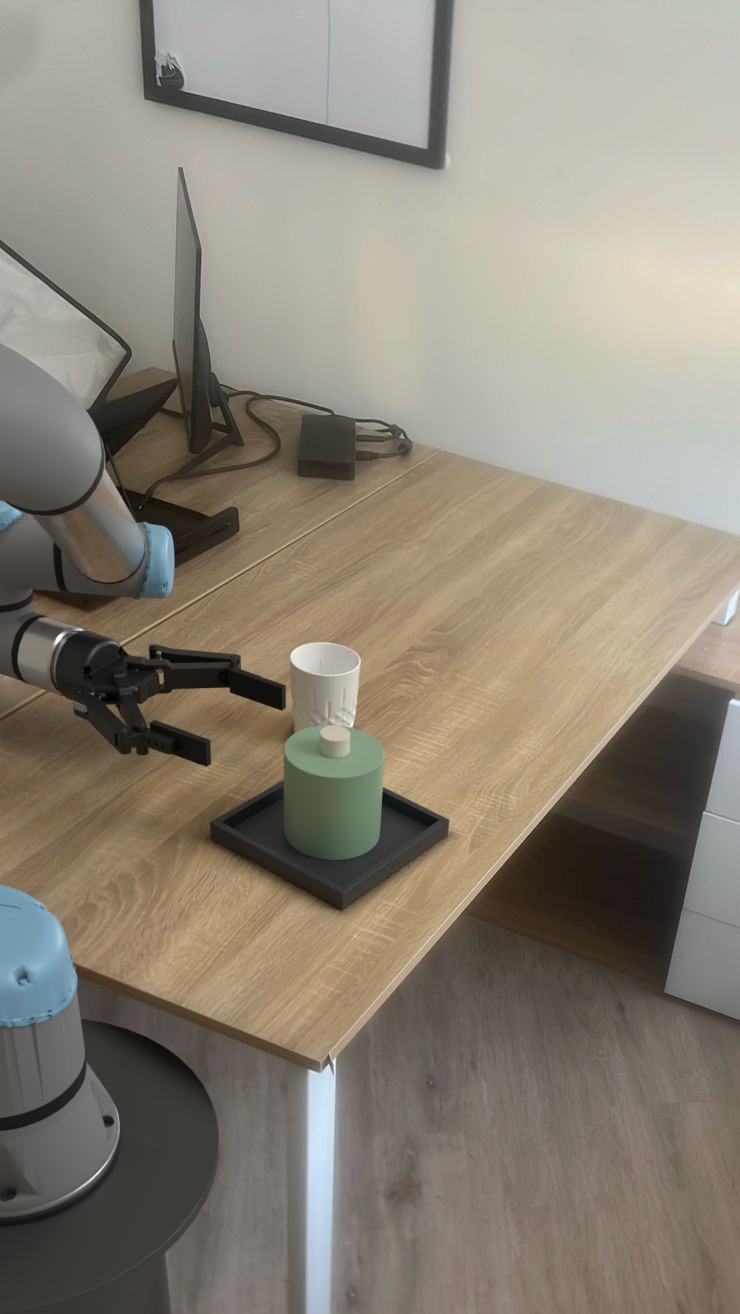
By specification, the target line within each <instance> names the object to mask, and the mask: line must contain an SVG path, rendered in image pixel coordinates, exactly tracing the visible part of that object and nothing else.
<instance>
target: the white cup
mask: <svg viewBox="0 0 740 1314" xmlns="http://www.w3.org/2000/svg"><path fill="white" fill-rule="evenodd" d="M361 662H362V659H361V657H360V655H359V654H358V653H357V652H356V651H355V650H353V649H351V648H349V647H348V646H345V645H341V644H339V643H333V642H324V641H323V642H319V641H318V642H310V643H304V644H301V645H299V646H296V648H294V649H293V650H292V651H291V652H290V655H289V668H290V669H289V670H290V692H291V695H290V696H291V704H292V706H291V707H292V715H293V729H294V731H293V734H295V733H296V732H298V731H300V730H303V729H306V728H309V727H314V726H321V725H339V726H346V727H351V728H354V724H355V723H354V722H355V719H356V716H357V715H356V713H357V706H358V696H359V686H360V684H359V683H360V673H361V665H362V663H361Z"/></svg>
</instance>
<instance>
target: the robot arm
mask: <svg viewBox="0 0 740 1314" xmlns="http://www.w3.org/2000/svg"><path fill="white" fill-rule="evenodd" d="M174 579H175V547H174V540H173V535H172V533H171V531H170V530H169V529H168V528H167V526H164V525H159V524H153V523H149V522H147V521H140V522H136V520H135V518H134V517H133V515H132V513H131V511H130V510H129V508H128V506H127V505H126V502H125V501H124V499H123V497H122V495H121V494H120V492H119V490H118V489H117V486H116V485H115V483H114V482H113V480H112V477H111V476H110V474H109V473H108V471H107V469H106V451H105V446H104V442H103V439H102V436H101V434H100V432H99V429H98V428H97V426H96V424H95V422H94V420H93V419H92V418H91V416H90V414H89V412H88V411H87V410H86V407H84V405H83V404H82V403H81V401H79V400H78V398H77V397H76V396H75V395H74V394H73V393H72V392H71V391H70V390H69V389H68V388H67V387H66V386H64V384H62V383H61V382H60V381H59V380H58V379H56V378H55V377H53V376H52V375H51V374H50V373H48V371H46V370H44V369H43V368H42V367H41V366H39V365H38V364H36V363H35V362H33V361H32V360H30V359H29V358H27V356H24V355H23V354H21V353H19V352H17V351H16V350H14V349H13V348H11V347H9V346H7V345H5V344H3V343H1V342H0V675H1V676H5V677H9V678H11V679H15V680H17V681H21V682H22V683H24V684H27V685H29V686H33V687H36V688H39V689H41V690H44V691H47V692H49V693H52V694H55V695H57V696H60V697H64V698H66V699H67V700H70V701H72V707H73V714H74V715H75V716H76V717H78V718H81V719H82V720H85V721H87V722H88V723H89V724H90V725H91V726H92V727H93V728H94V729H95V730H96V731H97V732H98V733H99V734H100V735H101V736H102V737H103V738H104V739H105V740H106V741H107V742H108V743H109V744H110V746H112V747H113V748H114V749H115V750H116V751H117V752H118V753H119V754H120V755H123V756H124V755H130V754H131V753H132V749H134V748H135V750H136V751H135V752H136V754H137V755H138V756H146V755H148V754H149V753H150V749H151V750H154V751H155V752H156V751H157V752H159V753H162V754H165V755H171V756H172V755H173V756H176V757H179V758H181V759H184V760H186V761H189V762H192V763H195V764H198V765H200V766H203V767H205V768H208V767H209V766H210V765H212V751H211V739H209V738H206V737H203V736H201V735H198V734H195V733H192V732H190V731H187V730H185V729H181V728H178V727H176V726H173V725H171V724H168V723H164V722H161V721H159V720H156V719H153V720H151V721H150V722H149V727H148V724H147V722H146V720H145V718H144V715H143V714H142V711H141V709H140V707H139V705H142V704H144V703H145V702H146V701H147V700H148V699H149V698H152V697H155V696H156V695H163V694H164V695H165V694H166V695H167V694H170V693H172V691H174V690H193V689H194V690H195V689H196V690H197V689H229V693H230V694H232V695H235V696H238V697H241V698H244V699H246V700H250V701H252V702H255V703H258V704H261V705H264V706H266V707H270V708H273V709H275V710H278V711H280V712H283V711H284V710H285V709H286V708H287V685H286V684H283V683H281V682H278V681H274V680H272V679H269V678H265V677H263V676H261V675H259V674H256V673H253V672H250V671H247V670H245V669H242V656H241V655H240V654H237V653H236V654H235V653H226V652H217V651H203V650H193V649H182V648H171V647H168V646H164V645H161V644H156V643H155V644H154V643H152V644H149V645H148V654H146V655H145V656H139V655H132V654H129V653H128V652H127V651H126V650H125V649H124V648H123V646H122V645H121V644H120V642H118V641H117V640H115V639H113V638H111V637H110V636H106V635H102V634H99V633H97V632H94V631H92V630H86V629H84V628H83V627H81V626H78V625H75V624H72V623H69V622H66V621H62V620H59V619H57V618H53V617H51V616H47V615H45V614H42V613H40V612H37V611H36V609H35V604H34V597H35V596H34V590H36V591H49V592H62V593H75V594H85V595H86V594H87V595H97V596H108V597H119V598H121V597H122V598H130V599H131V598H132V599H133V600H137V601H139V600H141V599H146V600H147V599H148V600H150V599H151V600H164V599H166V598H168V596H169V595H170V594H171V592H172V590H173V586H174ZM159 674H162V676H163V682H162V683H161V682H160V681H161V680H160V675H159ZM108 705H109V706H115V708H116V709H117V711H118V714H119V716H120V718H121V719H123V721H124V722H123V721H122V720H121V719H120V718H119V717H118V716H117V715H116V714H115V713H114V712H113V711H112V710H111V709H110V708H109V707H108ZM80 1010H81V1009H80V1004H79V996H78V974H77V968H76V965H75V964H74V958H73V956H72V954H71V952H70V947H69V943H68V937H67V935H66V932H65V930H64V927H63V925H62V923H61V922H60V920H59V919H58V917H57V916H56V915H55V914H54V913H52V912H51V911H49V910H48V909H47V907H46V905H45V904H44V903H42V902H41V901H39V900H38V899H37V898H35V897H33V896H31V895H30V894H28V893H26V892H25V891H21V890H19V889H17V888H15V887H11V886H7V885H6V884H5V885H4V884H0V1226H11V1225H19V1224H25V1223H31V1222H35V1221H38V1220H42V1219H45V1218H48V1217H51V1216H54V1215H56V1214H58V1213H61V1212H63V1211H65V1210H67V1209H69V1208H71V1207H73V1206H74V1205H76V1204H78V1203H79V1202H81V1201H82V1200H84V1199H85V1198H86V1197H88V1196H89V1195H90V1194H91V1193H92V1192H94V1191H95V1190H96V1189H97V1188H98V1187H99V1186H100V1185H101V1184H102V1183H103V1181H104V1180H105V1179H106V1178H107V1177H108V1175H109V1174H110V1172H111V1171H112V1169H113V1167H114V1165H115V1163H116V1161H117V1158H118V1155H119V1151H120V1146H121V1131H120V1123H119V1116H118V1112H117V1109H116V1107H115V1105H114V1103H113V1101H112V1099H111V1097H110V1095H109V1094H108V1092H107V1091H106V1089H105V1088H104V1086H103V1085H102V1083H101V1082H100V1081H99V1079H98V1078H97V1076H96V1075H95V1073H94V1072H93V1070H92V1069H91V1068H90V1066H89V1065H88V1063H87V1062H86V1055H85V1047H84V1040H83V1032H82V1025H81V1019H82V1018H81V1011H80Z"/></svg>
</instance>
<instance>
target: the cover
mask: <svg viewBox="0 0 740 1314" xmlns="http://www.w3.org/2000/svg"><path fill="white" fill-rule="evenodd" d="M384 749H385V748H384V747H383V745H382V743H381V742H380V741H379V740H378V739H377V738H376V737H374V736H373V735H372V734H369V733H368V732H366V731H364V730H361V729H358V728H356V727H355V728H354V727H353V728H351V727H346V726H339V725H321V726H314V727H309V728H306V729H303V730H300V731H298V732H296V733H295V734H294V733H293V734H292V735H290V736H289V737H288V738H287V739H286V741H285V743H284V745H283V780H284V835H285V838H286V840H287V841H288V843H289V844H290V845H291V846H292V847H293V848H295V849H296V850H298V851H299V852H301V853H303V854H305V855H308V856H311V857H315V858H319V859H326V860H344V859H350V858H355V857H358V856H361V855H363V854H365V853H367V852H368V851H370V850H371V849H372V848H373V847H374V846H375V845H376V844H377V842H378V840H379V837H380V825H381V807H382V790H383V787H384V769H385V750H384Z"/></svg>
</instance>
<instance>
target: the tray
mask: <svg viewBox="0 0 740 1314" xmlns="http://www.w3.org/2000/svg"><path fill="white" fill-rule="evenodd" d="M209 828H210V829H209V831H210V839H211V840H212V841H214V842H216V843H218V844H220V845H222V846H223V847H226V848H227V849H229V850H231V851H233V852H234V853H236V854H238V855H240V856H242V857H244V858H245V859H247V860H250V861H251V862H253V863H254V864H257V865H259V866H260V867H262V868H264V869H265V870H268V871H269V872H272V873H273V874H275V875H277V876H279V877H281V878H283V880H286V881H287V882H290V883H292V884H293V885H295V886H297V887H299V888H301V889H303V891H306V892H308V893H310V894H312V895H314V896H316V897H317V898H319V899H320V900H323V901H325V902H327V903H328V904H330V905H332V906H334V907H335V908H338V909H339V910H341V911H343V910H345V909H347V907H349V906H350V905H352V904H353V903H354V902H357V900H359V899H361V897H363V896H365V895H366V894H367V893H369V892H370V891H372V890H373V889H374V888H376V887H378V885H380V884H382V883H383V882H384V881H386V880H387V879H389V878H390V877H392V876H393V875H394V874H396V873H397V872H398V871H400V870H402V869H403V868H404V867H406V866H407V865H408V864H410V863H411V862H412V861H415V860H416V859H417V858H418V857H420V856H422V854H424V853H425V852H427V851H428V850H430V849H431V848H433V847H434V846H436V845H437V844H438V843H439V842H441V841H442V840H443V839H445V838H447V837H448V836H449V829H450V819H449V818H447V817H445V816H443V815H441V814H439V813H437V812H435V811H433V810H431V809H428V808H427V807H425V806H423V805H420V804H419V803H417V802H414V801H412V800H410V799H408V798H407V797H404V796H403V795H400V794H398V793H396V792H395V791H392V790H390V789H388V788H387V787H385V786H383V790H382V807H381V825H380V837H379V840H378V842H377V844H376V845H375V846H374V847H373V848H372V849H371V850H370V851H368V852H367V853H365V854H363V855H361V856H358V857H355V858H350V859H344V860H326V859H319V858H315V857H311V856H308V855H305V854H303V853H301V852H299V851H298V850H296V849H295V848H293V847H292V846H291V845H290V844H289V843H288V841H287V840H286V838H285V835H284V779H283V780H281V781H279V782H277V783H275V784H273V785H272V786H270V787H268V788H267V789H265V790H263V791H262V792H260V793H258V794H257V795H255V796H252V797H251V798H249V799H248V800H246V801H244V802H243V803H241V804H239V805H237V806H236V807H234V808H232V809H231V810H228V811H227V812H225V813H224V814H221V815H220V816H218V817H216V818H215V819H213V820H212V821H210V822H209Z"/></svg>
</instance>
